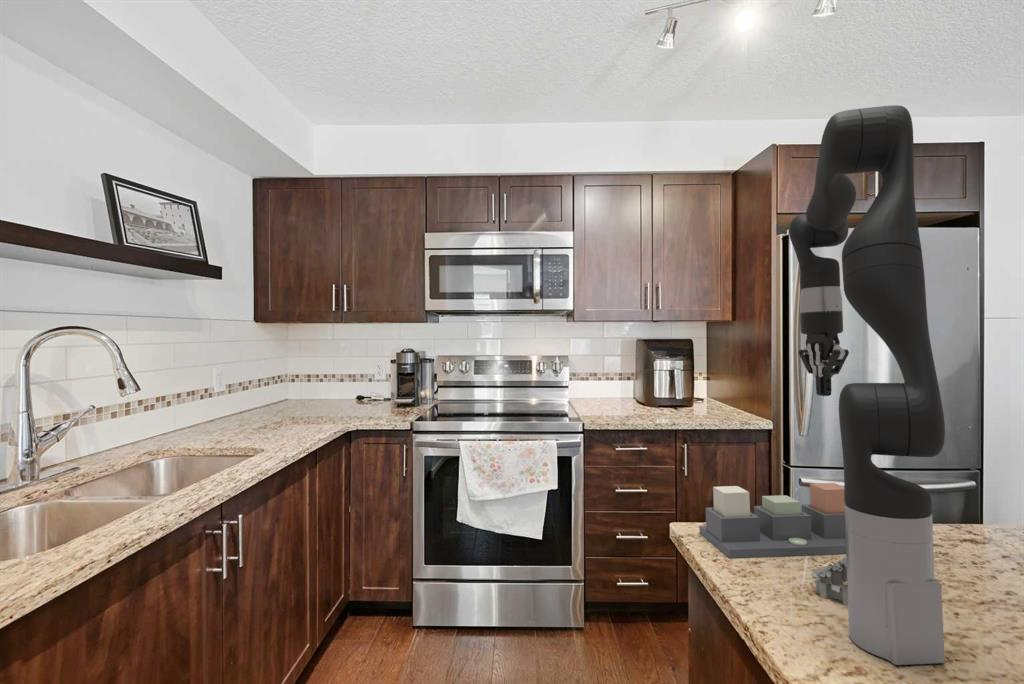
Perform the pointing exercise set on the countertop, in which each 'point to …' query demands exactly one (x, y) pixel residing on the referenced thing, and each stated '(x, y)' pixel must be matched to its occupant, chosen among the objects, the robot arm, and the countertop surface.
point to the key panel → (776, 533)
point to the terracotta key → (827, 498)
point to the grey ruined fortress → (832, 581)
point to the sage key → (781, 505)
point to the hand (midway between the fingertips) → (823, 395)
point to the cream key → (731, 501)
